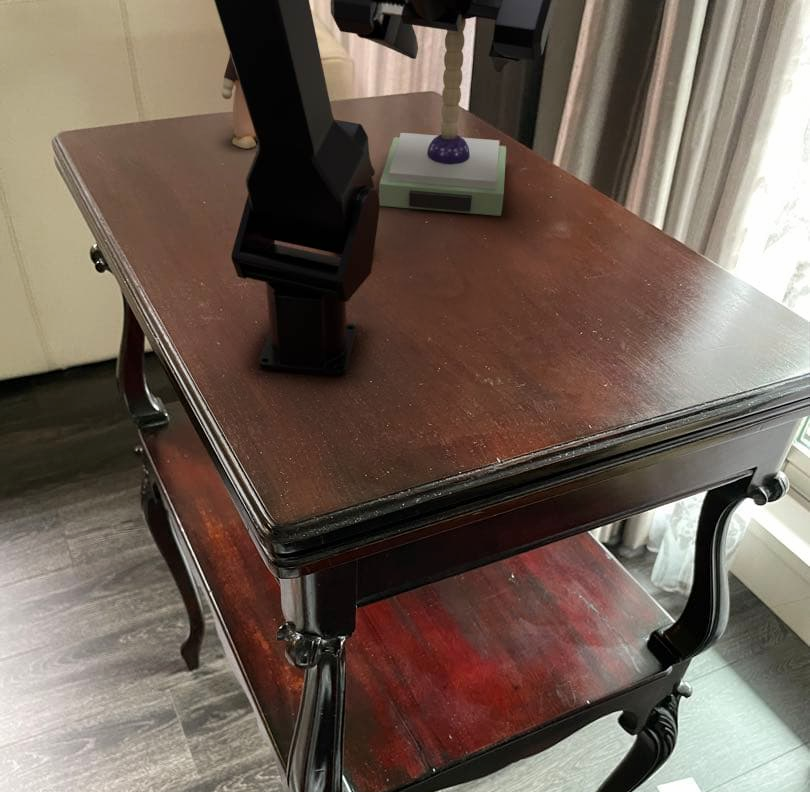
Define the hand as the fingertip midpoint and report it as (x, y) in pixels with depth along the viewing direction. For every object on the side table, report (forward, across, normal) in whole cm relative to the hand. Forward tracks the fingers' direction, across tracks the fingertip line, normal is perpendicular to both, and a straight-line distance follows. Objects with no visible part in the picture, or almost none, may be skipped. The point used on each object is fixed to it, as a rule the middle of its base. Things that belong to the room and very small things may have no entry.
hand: (457, 60), depth 79 cm
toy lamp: (+5, 0, +7) cm, 9 cm away
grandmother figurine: (+9, +23, +7) cm, 26 cm away
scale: (+7, 0, +9) cm, 11 cm away
